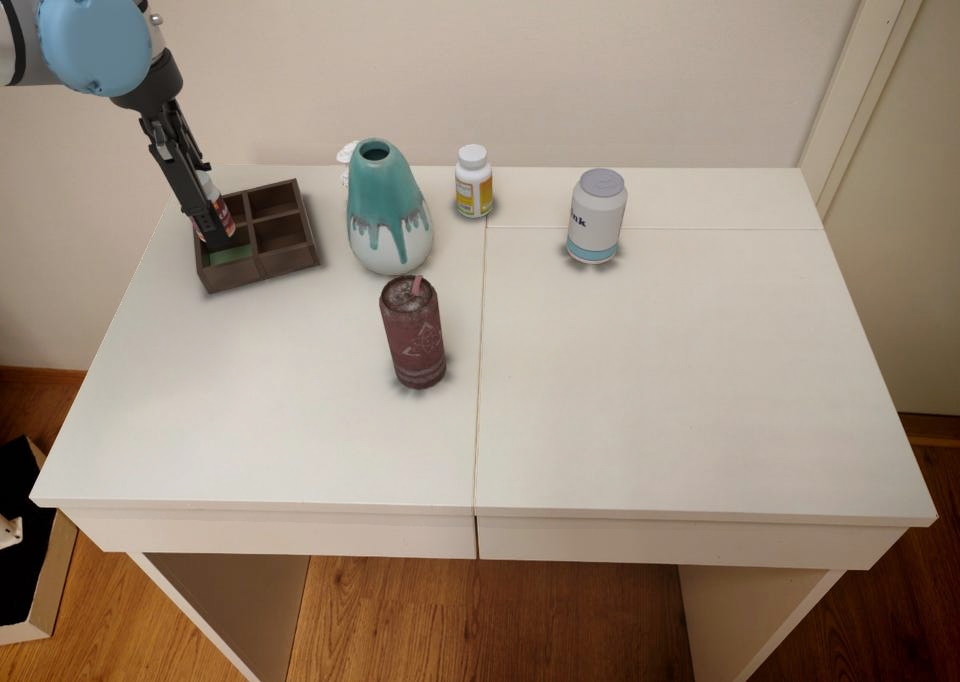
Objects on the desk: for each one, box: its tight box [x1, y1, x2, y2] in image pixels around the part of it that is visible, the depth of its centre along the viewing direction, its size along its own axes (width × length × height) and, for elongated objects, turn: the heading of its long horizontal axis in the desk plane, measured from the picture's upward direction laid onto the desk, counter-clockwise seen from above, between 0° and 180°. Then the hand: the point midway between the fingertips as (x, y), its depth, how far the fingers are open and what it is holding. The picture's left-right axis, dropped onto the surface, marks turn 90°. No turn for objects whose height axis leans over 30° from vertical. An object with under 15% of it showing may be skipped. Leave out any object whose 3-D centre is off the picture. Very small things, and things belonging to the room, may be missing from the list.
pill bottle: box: [188, 170, 235, 242], centre depth 75 cm, size 5×5×8 cm
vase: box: [345, 137, 435, 276], centre depth 77 cm, size 12×12×18 cm
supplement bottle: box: [454, 143, 494, 219], centre depth 86 cm, size 5×5×10 cm
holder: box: [191, 177, 321, 295], centre depth 85 cm, size 15×15×4 cm
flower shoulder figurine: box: [336, 140, 361, 189], centre depth 86 cm, size 9×4×12 cm, turn 1°
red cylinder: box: [378, 274, 447, 390], centre depth 66 cm, size 6×6×14 cm
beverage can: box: [566, 167, 629, 265], centre depth 79 cm, size 7×7×12 cm
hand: (218, 230), depth 78 cm, fingers closed on pill bottle, 5 cm apart
